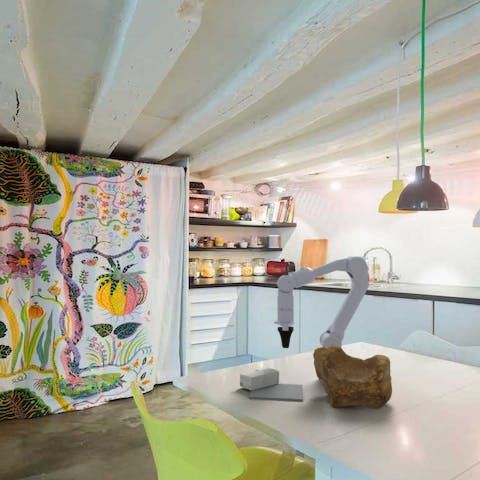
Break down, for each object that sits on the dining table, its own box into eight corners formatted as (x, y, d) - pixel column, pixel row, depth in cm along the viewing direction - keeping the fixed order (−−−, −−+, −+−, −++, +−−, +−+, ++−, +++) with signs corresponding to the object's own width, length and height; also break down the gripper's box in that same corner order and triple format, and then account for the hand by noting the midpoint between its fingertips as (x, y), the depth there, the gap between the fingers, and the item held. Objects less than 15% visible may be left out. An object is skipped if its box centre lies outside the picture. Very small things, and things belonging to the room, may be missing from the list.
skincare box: (279, 370, 135) (251, 376, 127) (279, 384, 134) (251, 391, 127) (266, 367, 140) (239, 372, 132) (266, 380, 139) (239, 386, 132)
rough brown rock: (300, 408, 117) (300, 356, 116) (316, 386, 132) (316, 341, 131) (386, 426, 106) (387, 370, 106) (393, 401, 121) (393, 351, 121)
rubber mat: (302, 386, 134) (302, 384, 134) (303, 401, 120) (303, 399, 120) (253, 384, 136) (253, 382, 136) (249, 398, 122) (249, 396, 122)
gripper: (275, 306, 153) (275, 343, 152) (273, 311, 138) (273, 352, 138) (294, 306, 152) (294, 343, 151) (294, 312, 137) (294, 352, 137)
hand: (285, 347), depth 144 cm, fingers closed
